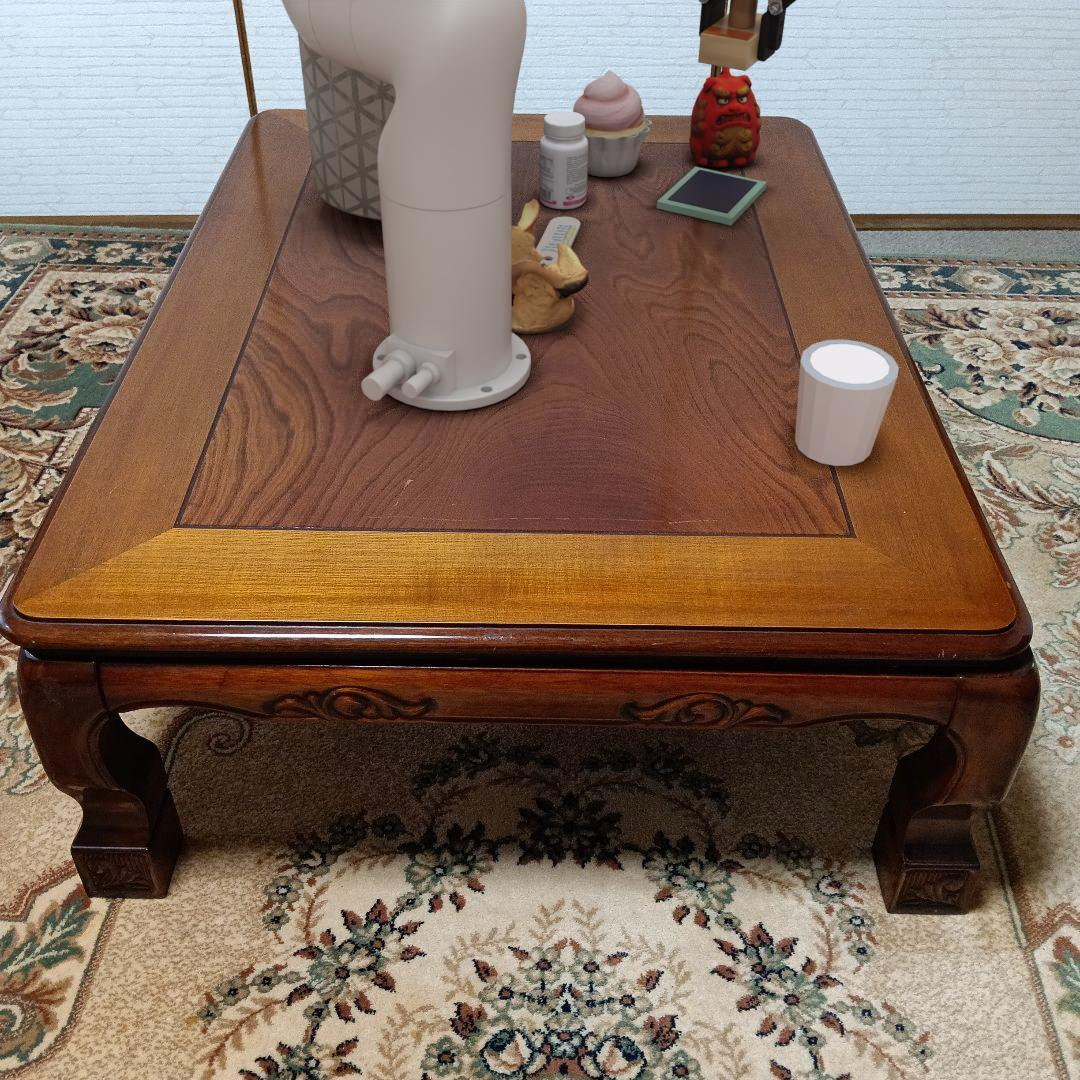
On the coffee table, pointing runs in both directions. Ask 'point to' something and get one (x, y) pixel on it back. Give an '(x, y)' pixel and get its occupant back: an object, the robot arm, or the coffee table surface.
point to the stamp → (733, 37)
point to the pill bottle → (563, 161)
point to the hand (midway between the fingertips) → (738, 49)
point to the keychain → (557, 237)
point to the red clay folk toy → (725, 122)
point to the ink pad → (712, 195)
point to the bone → (542, 280)
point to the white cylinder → (842, 400)
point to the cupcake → (612, 125)
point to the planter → (345, 132)
